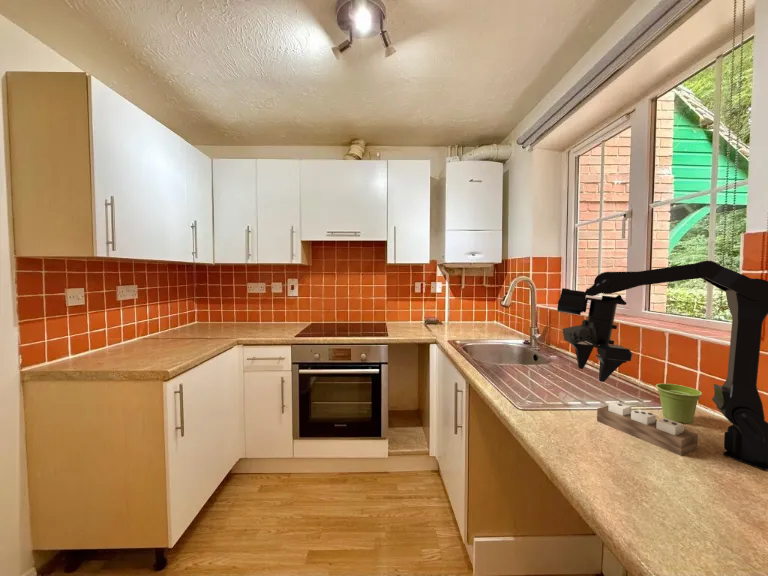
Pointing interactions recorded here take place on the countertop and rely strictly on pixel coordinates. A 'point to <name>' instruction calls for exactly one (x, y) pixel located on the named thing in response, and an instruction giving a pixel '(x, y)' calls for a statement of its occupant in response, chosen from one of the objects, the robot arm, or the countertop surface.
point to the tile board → (649, 432)
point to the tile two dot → (670, 426)
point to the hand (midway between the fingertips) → (590, 374)
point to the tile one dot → (619, 408)
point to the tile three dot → (643, 417)
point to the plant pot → (678, 402)
